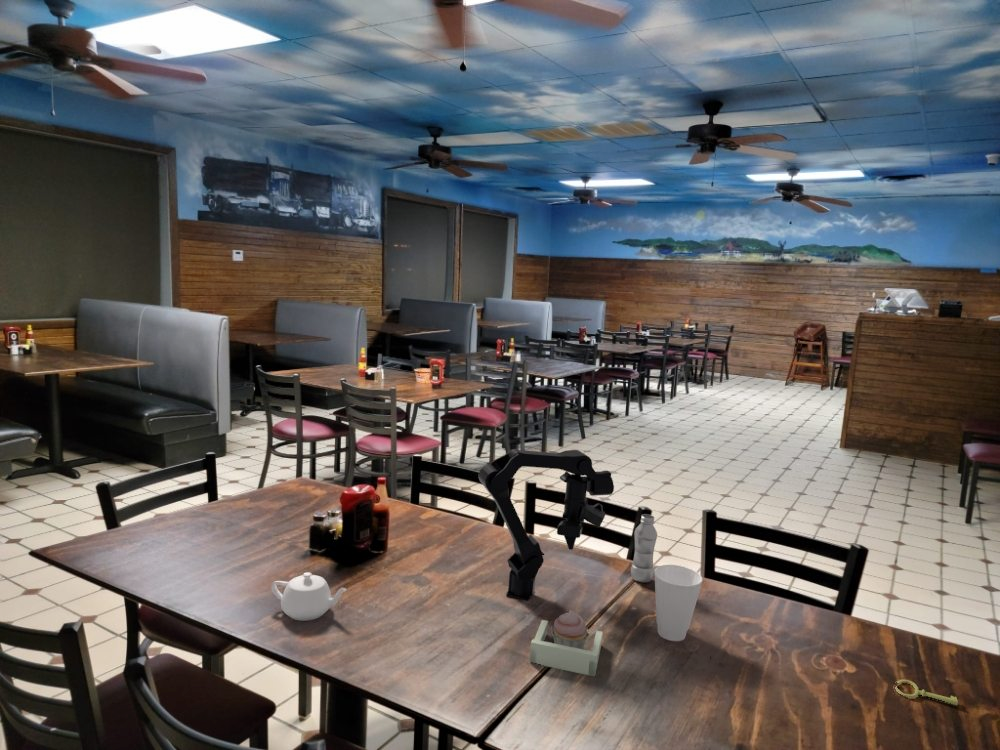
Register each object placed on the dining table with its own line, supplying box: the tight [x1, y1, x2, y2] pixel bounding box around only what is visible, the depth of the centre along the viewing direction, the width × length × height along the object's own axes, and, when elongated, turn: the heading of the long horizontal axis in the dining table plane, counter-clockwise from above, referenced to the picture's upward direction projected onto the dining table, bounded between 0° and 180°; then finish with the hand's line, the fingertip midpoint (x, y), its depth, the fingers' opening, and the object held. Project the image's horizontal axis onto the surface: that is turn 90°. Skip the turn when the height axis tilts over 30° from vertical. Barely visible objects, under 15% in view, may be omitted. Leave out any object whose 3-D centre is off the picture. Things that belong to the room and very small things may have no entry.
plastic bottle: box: [630, 513, 658, 584], centre depth 197 cm, size 6×7×20 cm
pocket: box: [529, 619, 603, 677], centre depth 157 cm, size 15×14×5 cm
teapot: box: [270, 572, 347, 622], centre depth 167 cm, size 20×12×10 cm, turn 79°
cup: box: [653, 564, 704, 642], centre depth 168 cm, size 12×12×16 cm
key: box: [895, 679, 959, 706], centre depth 151 cm, size 7×12×2 cm, turn 76°
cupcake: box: [550, 609, 590, 650], centre depth 158 cm, size 9×9×10 cm
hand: (570, 549), depth 188 cm, fingers closed
